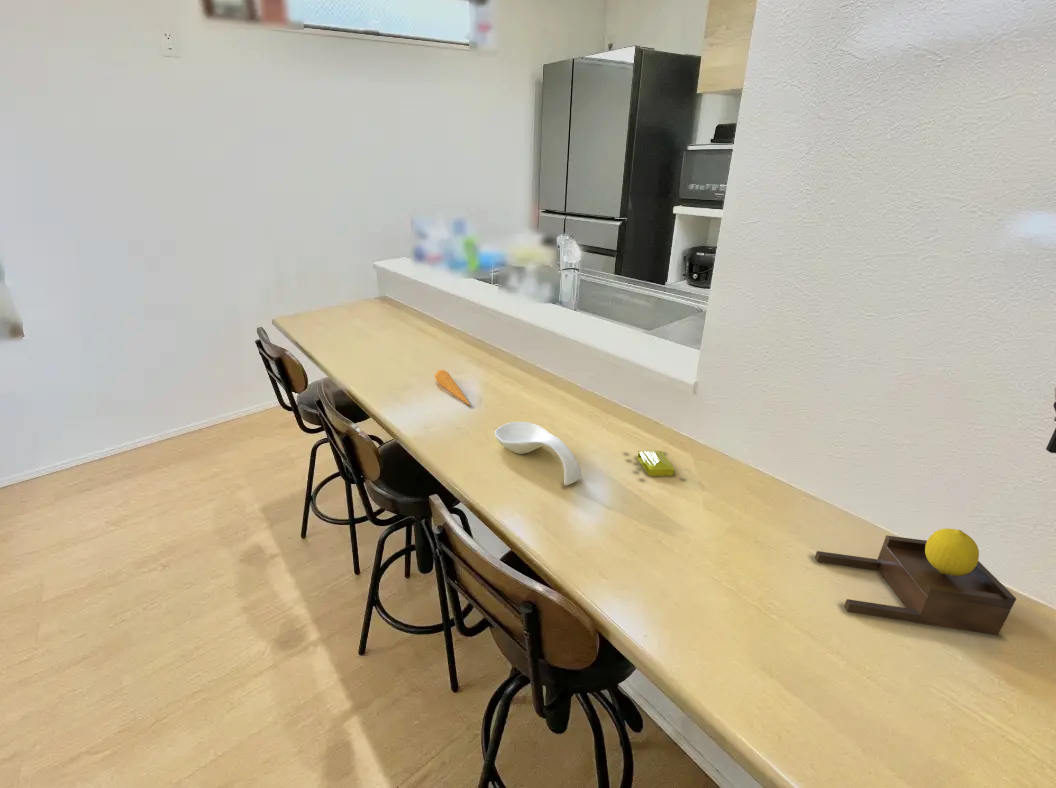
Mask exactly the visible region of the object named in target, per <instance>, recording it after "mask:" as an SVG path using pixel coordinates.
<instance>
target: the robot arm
mask: <svg viewBox="0 0 1056 788" xmlns="http://www.w3.org/2000/svg"><path fill="white" fill-rule="evenodd" d="M1054 400H1055V401H1054V403H1053V409H1054V411H1055V413H1056V386H1055V387H1054ZM1053 422H1054V423H1055V424H1056V416H1054V417H1053ZM1045 450H1046V452H1049V453H1051V454H1056V427H1055V428H1054V431H1053V433H1052V435H1051V437H1050V439H1049V441H1048V444H1047V446H1046V448H1045Z"/></svg>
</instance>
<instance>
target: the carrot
mask: <svg viewBox="0 0 1056 788" xmlns="http://www.w3.org/2000/svg"><path fill="white" fill-rule="evenodd" d="M434 379H435V381H436V382H437V383H439V385H441V386H442V387H444V388H445V389H446V390H448V391H449V392H450V393H451V394H453V395H454V396H455V397H457V398H458V399H459V400H461V401H462V402H464V403H465V404H467V405H468V406H471V404H470V402H469V400H468V399H467V396H466V395H465V394H464V392H463V391H462V390H461V388H460V387H459V386H458V384H457V383H456V381H455V380H454V379H453V377H452V376H451V374H450V373H449V372H448V371H447V370H445V369H443V368H442V369H438V370H437V371H436V372H435V373H434Z"/></svg>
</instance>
